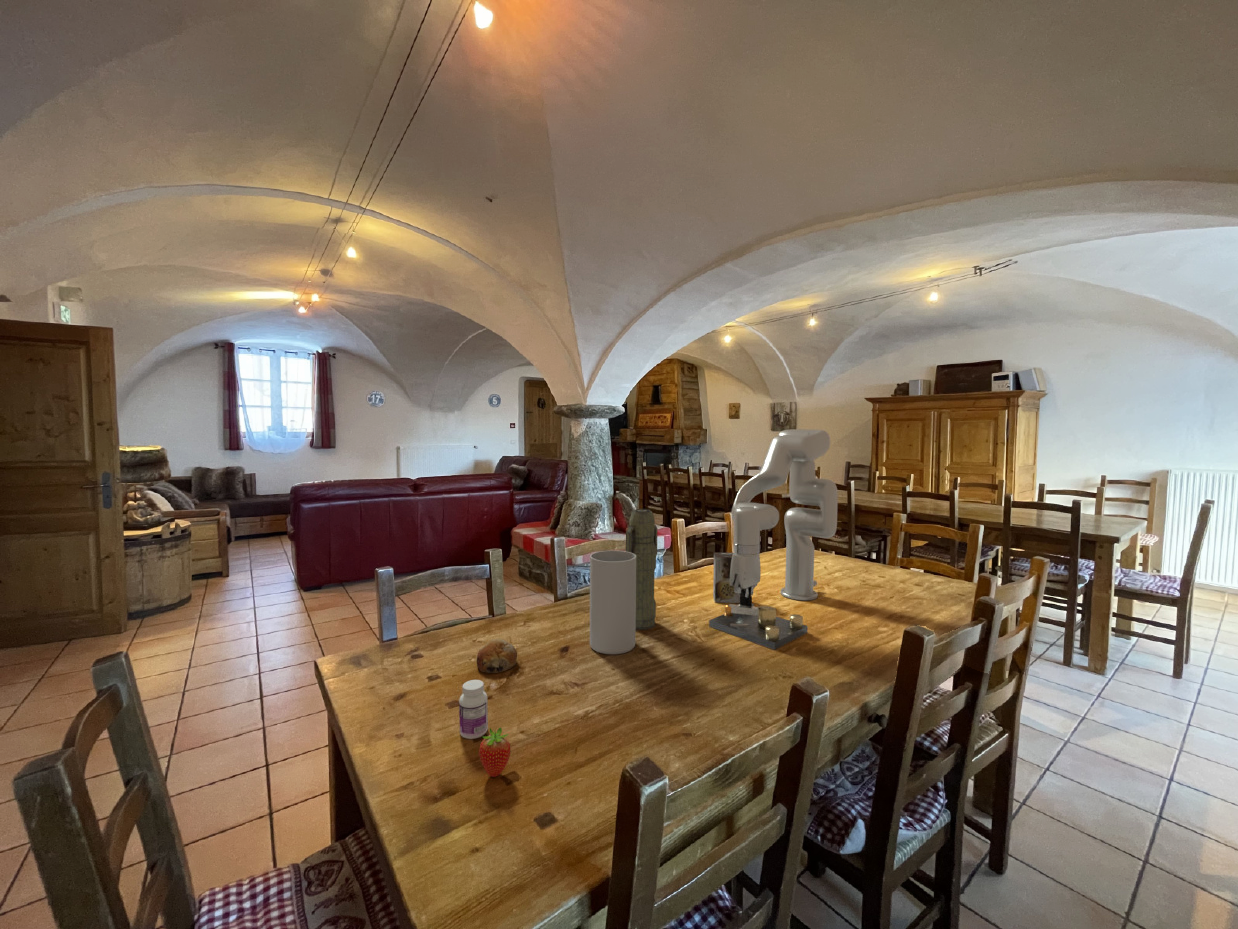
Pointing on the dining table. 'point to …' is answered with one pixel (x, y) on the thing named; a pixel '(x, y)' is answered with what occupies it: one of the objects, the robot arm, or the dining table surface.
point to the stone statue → (643, 564)
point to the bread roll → (496, 656)
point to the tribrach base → (761, 629)
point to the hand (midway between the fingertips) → (745, 608)
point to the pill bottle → (473, 710)
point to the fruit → (494, 752)
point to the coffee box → (723, 579)
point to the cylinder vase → (612, 601)
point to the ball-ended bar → (754, 613)
